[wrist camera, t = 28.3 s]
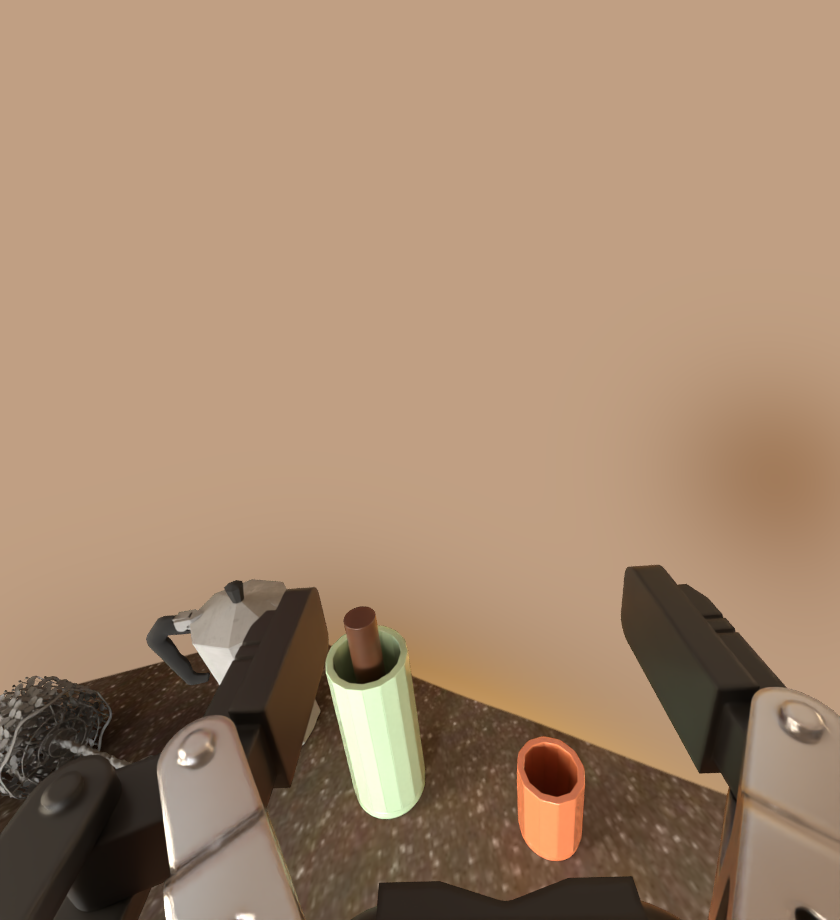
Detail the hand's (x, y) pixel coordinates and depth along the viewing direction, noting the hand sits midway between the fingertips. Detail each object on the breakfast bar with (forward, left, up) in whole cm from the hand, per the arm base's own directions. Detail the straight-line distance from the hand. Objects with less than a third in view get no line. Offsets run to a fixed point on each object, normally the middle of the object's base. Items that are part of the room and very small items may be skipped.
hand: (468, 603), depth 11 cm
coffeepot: (+16, -27, -34) cm, 46 cm away
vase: (+4, -18, -33) cm, 38 cm away
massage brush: (+34, -27, -34) cm, 55 cm away
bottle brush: (+4, -18, -33) cm, 37 cm away
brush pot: (-8, -11, -33) cm, 36 cm away
